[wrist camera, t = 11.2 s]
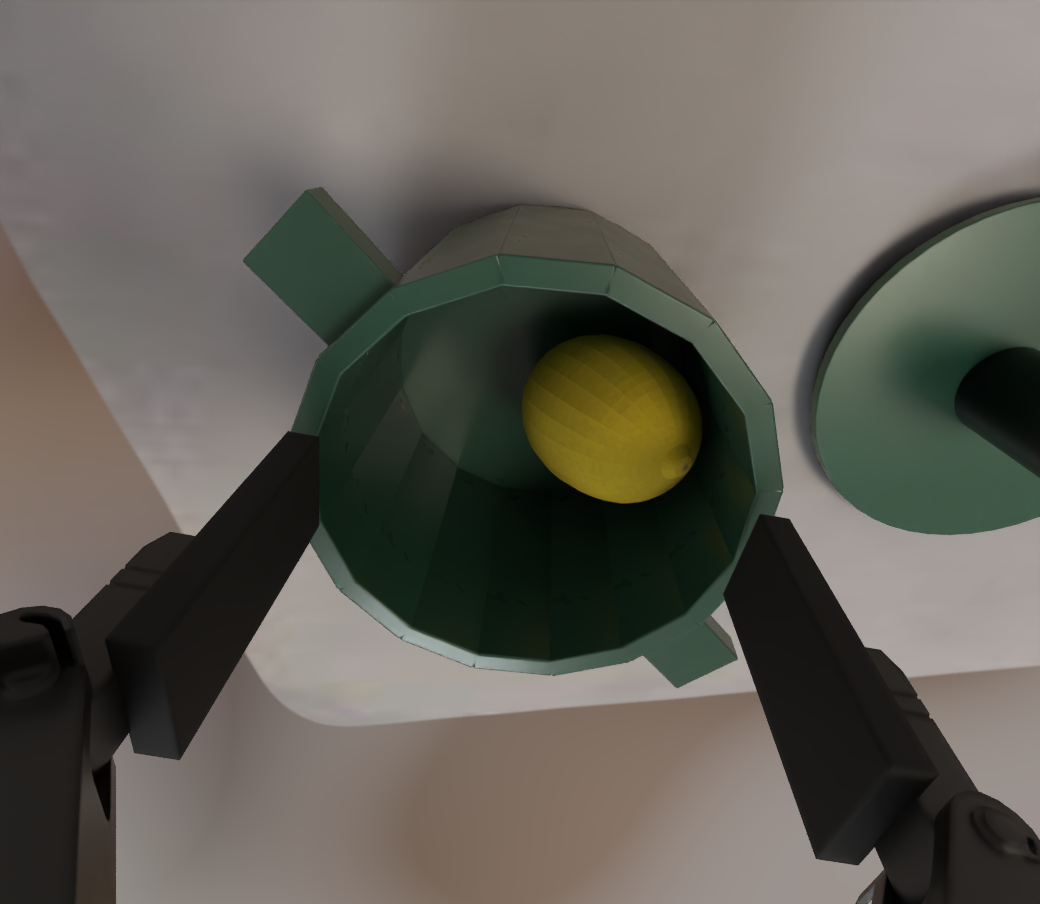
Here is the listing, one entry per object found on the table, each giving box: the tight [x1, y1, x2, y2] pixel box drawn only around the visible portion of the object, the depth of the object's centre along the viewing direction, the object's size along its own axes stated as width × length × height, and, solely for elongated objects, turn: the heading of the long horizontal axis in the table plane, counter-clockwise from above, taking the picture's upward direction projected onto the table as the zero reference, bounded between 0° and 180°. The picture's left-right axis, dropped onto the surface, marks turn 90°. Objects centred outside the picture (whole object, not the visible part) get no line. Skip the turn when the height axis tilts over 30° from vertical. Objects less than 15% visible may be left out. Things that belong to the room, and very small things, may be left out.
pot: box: [243, 187, 783, 688], centre depth 20 cm, size 13×18×10 cm
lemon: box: [521, 334, 702, 503], centre depth 21 cm, size 6×6×8 cm
